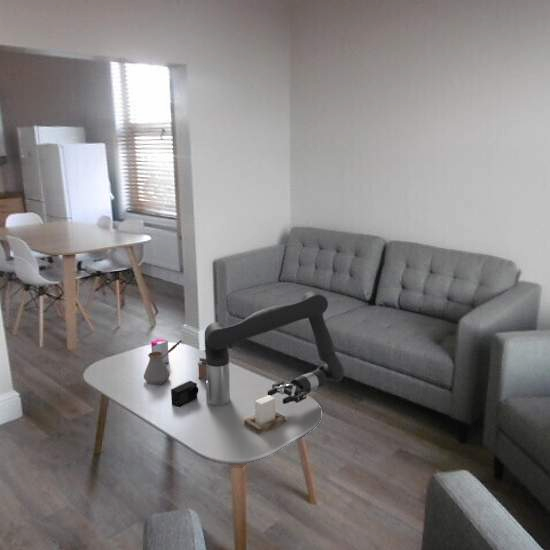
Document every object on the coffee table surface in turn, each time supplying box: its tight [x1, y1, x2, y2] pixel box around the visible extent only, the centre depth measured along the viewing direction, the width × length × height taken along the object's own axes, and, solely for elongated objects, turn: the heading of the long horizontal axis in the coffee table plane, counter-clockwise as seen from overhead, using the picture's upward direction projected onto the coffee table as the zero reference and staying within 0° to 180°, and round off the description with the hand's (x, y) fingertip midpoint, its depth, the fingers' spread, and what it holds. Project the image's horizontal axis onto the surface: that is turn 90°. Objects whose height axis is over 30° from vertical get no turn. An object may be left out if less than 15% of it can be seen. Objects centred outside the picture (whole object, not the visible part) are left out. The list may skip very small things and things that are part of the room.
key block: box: [254, 394, 276, 426], centre depth 199 cm, size 4×7×10 cm, turn 132°
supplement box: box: [150, 338, 170, 365], centre depth 251 cm, size 6×6×12 cm
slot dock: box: [243, 411, 286, 435], centre depth 200 cm, size 13×9×2 cm
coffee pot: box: [143, 339, 184, 386], centre depth 236 cm, size 21×12×15 cm, turn 141°
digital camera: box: [170, 380, 199, 408], centre depth 215 cm, size 10×5×7 cm, turn 141°
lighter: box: [197, 357, 207, 381], centre depth 235 cm, size 8×3×10 cm, turn 74°
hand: (275, 397), depth 201 cm, fingers open, 8 cm apart
